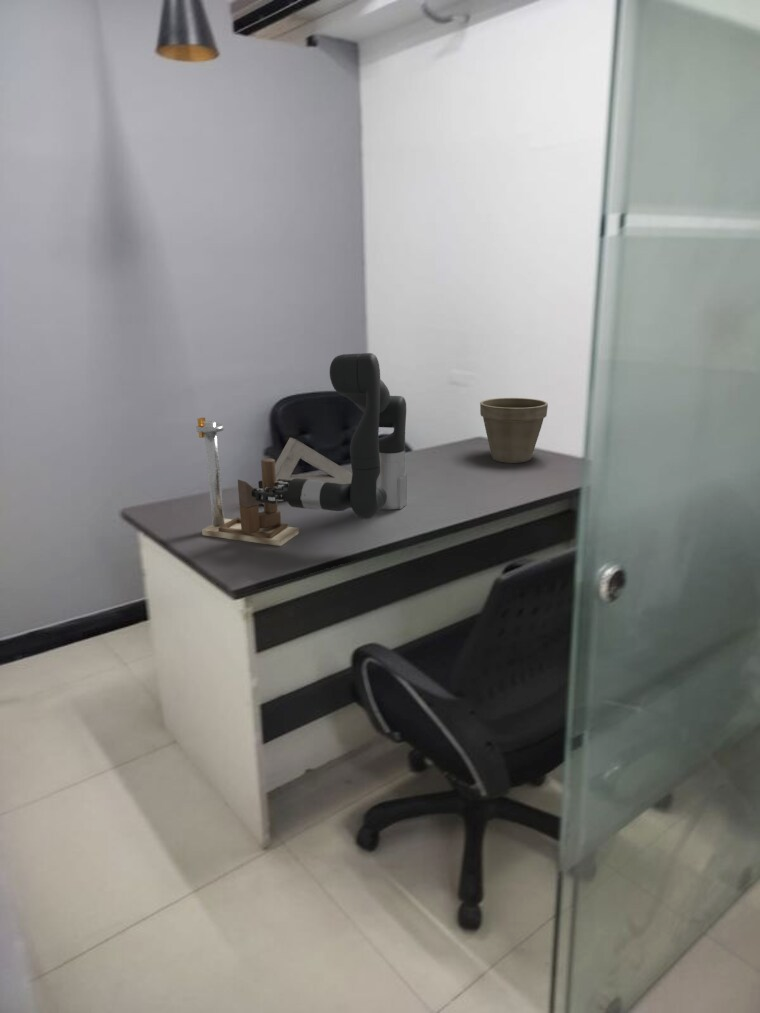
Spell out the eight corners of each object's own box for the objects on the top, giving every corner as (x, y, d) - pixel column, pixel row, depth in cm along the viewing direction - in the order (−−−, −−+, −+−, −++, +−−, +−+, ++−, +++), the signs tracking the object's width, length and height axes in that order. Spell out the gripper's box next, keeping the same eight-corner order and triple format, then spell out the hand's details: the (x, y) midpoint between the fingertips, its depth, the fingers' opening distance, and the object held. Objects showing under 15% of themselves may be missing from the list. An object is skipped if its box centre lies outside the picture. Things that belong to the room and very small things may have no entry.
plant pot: (471, 451, 271) (473, 397, 264) (531, 449, 273) (535, 395, 267) (487, 468, 247) (490, 408, 240) (553, 465, 250) (557, 406, 243)
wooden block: (240, 531, 180) (236, 465, 174) (272, 520, 187) (269, 457, 182) (249, 534, 177) (244, 467, 172) (281, 523, 185) (278, 459, 179)
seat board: (298, 533, 185) (298, 524, 184) (280, 546, 176) (280, 536, 175) (223, 523, 193) (222, 514, 192) (202, 535, 184) (201, 526, 184)
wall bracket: (333, 540, 225) (261, 503, 207) (326, 536, 228) (255, 499, 210) (365, 481, 226) (296, 439, 208) (358, 478, 229) (290, 437, 211)
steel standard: (236, 527, 190) (228, 417, 180) (222, 535, 184) (213, 422, 174) (215, 524, 192) (205, 415, 183) (200, 532, 186) (190, 420, 176)
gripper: (320, 473, 179) (265, 467, 185) (295, 487, 167) (236, 481, 172) (321, 500, 182) (266, 493, 188) (296, 516, 169) (238, 509, 175)
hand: (252, 488), depth 180 cm, fingers open, 6 cm apart
